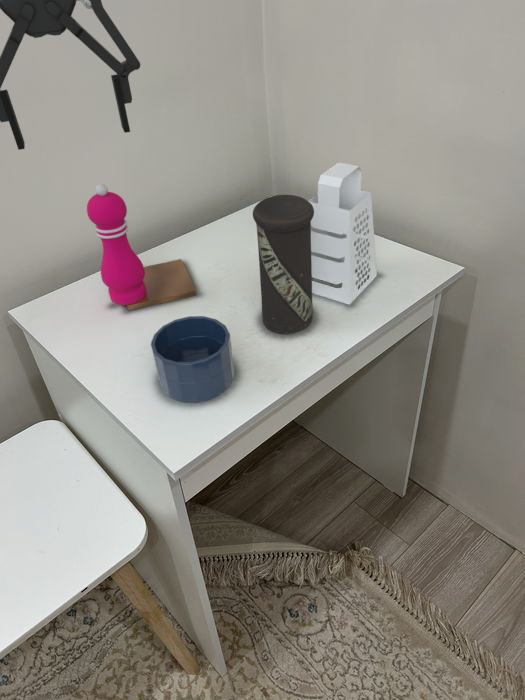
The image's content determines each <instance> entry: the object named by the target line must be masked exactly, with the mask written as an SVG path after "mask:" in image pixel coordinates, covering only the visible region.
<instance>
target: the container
mask: <svg viewBox="0 0 525 700" xmlns="http://www.w3.org/2000/svg"><path fill="white" fill-rule="evenodd" d="M308 201H309V200H307V199H306V198H303V197H302V196H298V195H294V194H276V195H271V196H268V197H265V198H263V199H261V200H260V201H259V202H258V203H257V204H255V206H254V208H253V209H252V219H253V221H254V222H255V225H256V234H257V235H256V236H257V238H256V239H257V248H258V249H257V251H258V266H259V280H260V281H259V282H260V297H261V299H260V300H261V318H262V323H263V325H264V327H265V328H266V329H267V330H268V331H270V332H272V333H274V334H278V335H292V334H296V333H299V332H301V331H303V330H305V329H306V328H308V327H309V326H310V325H311V323H312V321H313V317H314V316H313V315H314V308H313V307H314V305H313V293H312V281H313V277H312V265H311V220H312V218H313V216H314V208H313V206H312V204H311V203H310V202H308Z"/></svg>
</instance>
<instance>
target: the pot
mask: <svg viewBox="0 0 525 700" xmlns="http://www.w3.org/2000/svg"><path fill="white" fill-rule="evenodd" d="M150 347H151V352H152V355H153V360H154V363H155V368H156V372H157V376H158V380H159V383H160V387H161V390H162V391H163V393H164V394H165V395H166V396H167V397H169V398H170V399H172V400H174V401H177V402H180V403H186V404H198V403H203V402H207V401H211V400H214V399H215V398H217V397H219V396H221V395H222V394H224V393H225V392H226V391H227V390H228V389H229V388H230V386H232V383H233V381H234V377H235V365H234V358H233V357H234V356H233V350H232V340H231V334H230V332H229V329H228V327H227V326H226V324H225V323H223V322H221V321H219V320H218V319H216V318H214V317H210V316H209V317H208V316H206V315H205V316H204V315H195V316H194V315H193V316H191V315H189V316H186V317H181V318H177V319H173V320H172V321H170V322H168V323H166V324H164V325H162V326H161V327H160V328H159V329H158V330H157V331H156V332H155V333H154V334H153V337H152V339H151V342H150Z"/></svg>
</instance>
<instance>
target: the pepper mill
mask: <svg viewBox="0 0 525 700" xmlns="http://www.w3.org/2000/svg"><path fill="white" fill-rule="evenodd" d="M95 193H96V194H94V195H92V196H91V197H90V198H89V199H88V201H87V204H86V214H87V217H88V219H89V220H90V221H91V223H92V224H94V230H95V233H96V236H97V237H98V238H100V241H101V244H102V260H101V265H100V276H101V281H102V283H103V284H104V285H105V286H106V287H107V288H108V289H107V290H108V295H109V299H110V301H111V302H112V303H114V304H116V305H119V306H127V305H130V304H134V303H136V302H139V301H140V300H142V299H143V298H144V297H145V296H146V292H147V291H146V287H145V283H144V281H143V279H144V276H145V270H144V267H145V266H144V263H142V261H141V259H140V257H139V256H138V255H137V253H136V252H135V251H134V250H133V249H132V247H131V245H130V242H129V240H128V236H127V232H128V230H129V226H128V225H127V224H128V223H127V220H126V219H125V218H126V217H127V214H128V210H127V205H126V202H125V200H124V199H123V198H122V197H121V196H120V195H119V194H118V193H115V192H112V191H109V189H108V187H107V185H106V184H104V183H99V184H97V185H96V186H95Z"/></svg>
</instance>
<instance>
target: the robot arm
mask: <svg viewBox="0 0 525 700" xmlns="http://www.w3.org/2000/svg"><path fill="white" fill-rule="evenodd" d="M77 2H81V3H82V4H83V6H84V7H85V8H86V9H88V10H91V9H92V11H93V13H94V15H95V16H96V18H97V19H98V20H99V23H100V24H101V25H102V27H103V28H104V29H105V31H106V32H107V34H108V36H109V37H110V39H111V40H112V41H113V43H114V44H115V46H116V47H117V48H118V50H119V51H120V53H121V54H122V56H123V57H124V59H125V60H124V61H120V60H119V59H117V57H116V56H114V55H113V54H112V53H111V52H110V51H109V50H108V49H107V48H105V47H104V45H102V43H101V42H99V41H98V40H97V39H96V38H95V37H94V36H93V35H92V34H91V33H90V32H89V31H87V29H85V28H84V26H82V25H81V23H79V22H78V21H77V20H76V19H75V18H74V17H73V16H72V15H73V13H74V10H75V7H76V4H77ZM0 10H1V11H2V12H3V14H5V15H6V16H7V17H8V19H10V20H11V22H13V26H12V27H11V30H10V33H9V35H8V37H7V40H6V42H5V45H4V47H3V49H2V51H1V54H0V123H6V122H8V123H9V126H10V129H11V132H12V135H13V138H14V142H15V144H16V147H17V150H18V151H21V150H25V147H26V145H25V143H26V142H25V139H24V137H23V134H22V133H23V132H22V130H21V127H20V125H19V121H18V118H17V116H16V113H15V109H14V106H13V103H12V99H11V97H10V94H9V90H8V89H2V90H1V88H2V86H3V83H4V81H5V79H6V77H7V75H8V72H9V70H10V68H11V66H12V63H13V62H14V58H15V56H16V54H17V52H18V49H19V48H20V45H21V43H22V41H23V39H24V37H25V34H26V35H27V36H29V37H32V38H33V39H38V38H43V37H44V36H46V35H48V36H54V37H55V36H61V35H62V34H64V33H65V32H66V31H69V32H70V33H71V34H72V35H73V36H74V37H75V38H77V39H78V40H79V41H80V42H81V43H82V44H84V45H85V46H86V48H88V49H89V50H90V51H91V52H92V53H93V54H95V55H96V56H97V57H98V58H99V59H100V60H101V61H102V62H103V63H104V64H106V65H107V67H109V68H110V69H111V70H112V71H113V72H115V74H111V75H110V77H111V83H112V87H113V92H114V96H115V101H116V106H117V110H118V116H119V120H120V124H121V128H122V130H123V132H124V133H126V134H127V133H130V132H131V129H130V123H129V119H128V114H127V109H126V104H132V102H133V96H132V91H131V86H130V80H129V75H130V74H131V73H133V72H134V71H138V70H140V68H141V61H140V60H139V59H138V57H137V55H136V54H135V53H134V51H133V50H132V48H131V47H130V45H129V44H128V42H127V41H126V40H125V38H124V37H123V35H122V34H121V32H120V30H119V29H118V27H117V26H116V24H115V23H114V21H113V20H112V18H111V17H110V15H109V14H108V12H107V11H106V9H105V8H104V5H103V2H102V0H0Z"/></svg>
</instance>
